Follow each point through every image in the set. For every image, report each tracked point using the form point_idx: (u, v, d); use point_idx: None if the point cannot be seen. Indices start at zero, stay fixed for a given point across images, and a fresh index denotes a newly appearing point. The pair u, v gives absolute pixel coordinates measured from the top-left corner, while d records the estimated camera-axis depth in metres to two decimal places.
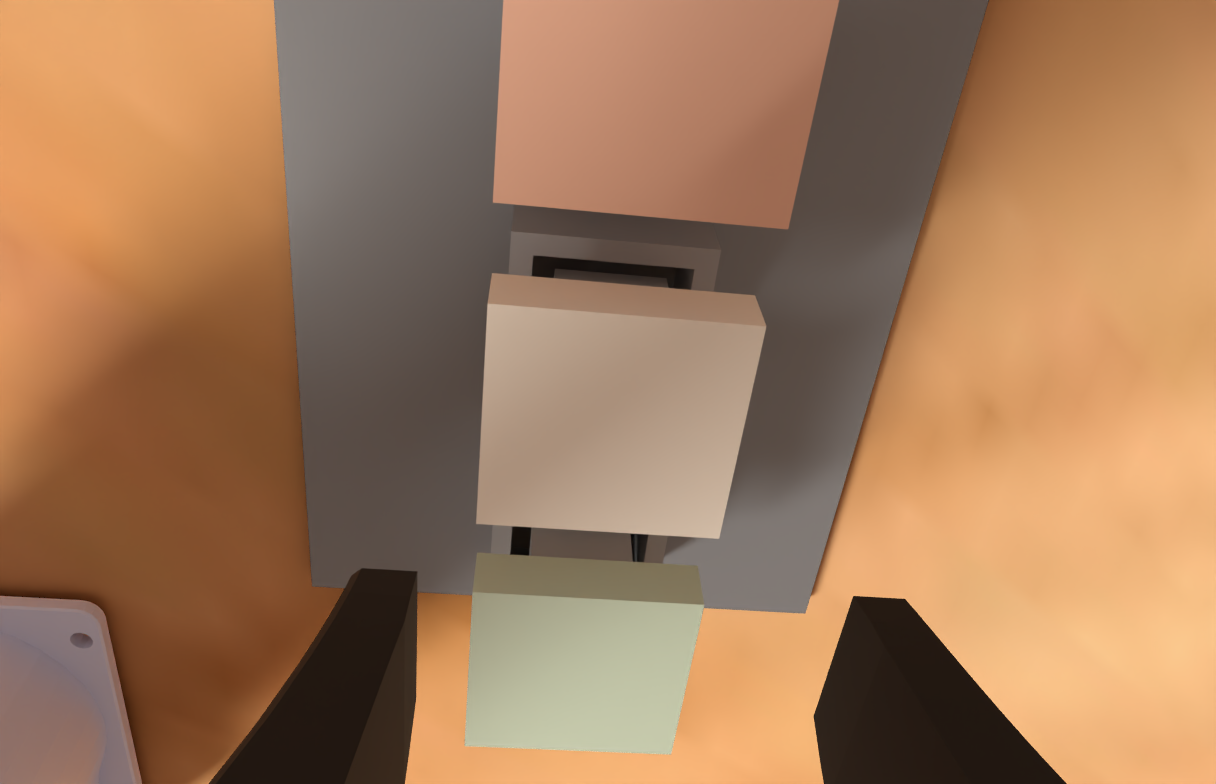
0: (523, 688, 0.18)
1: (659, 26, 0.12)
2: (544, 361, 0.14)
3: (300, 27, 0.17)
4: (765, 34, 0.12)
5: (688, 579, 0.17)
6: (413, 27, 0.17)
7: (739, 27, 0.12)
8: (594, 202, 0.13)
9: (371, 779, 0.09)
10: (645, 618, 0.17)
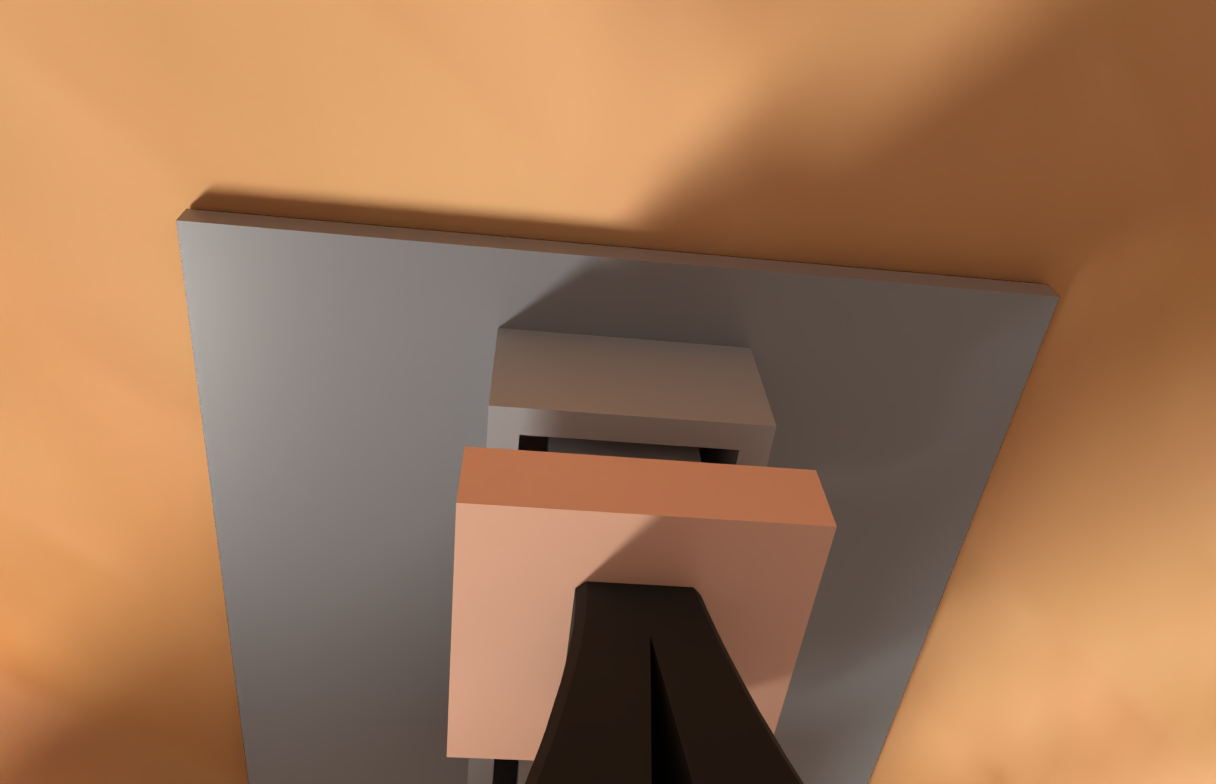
0: None
1: None
2: None
3: (237, 481, 0.15)
4: (736, 626, 0.11)
5: None
6: (363, 479, 0.15)
7: None
8: None
9: None
10: None
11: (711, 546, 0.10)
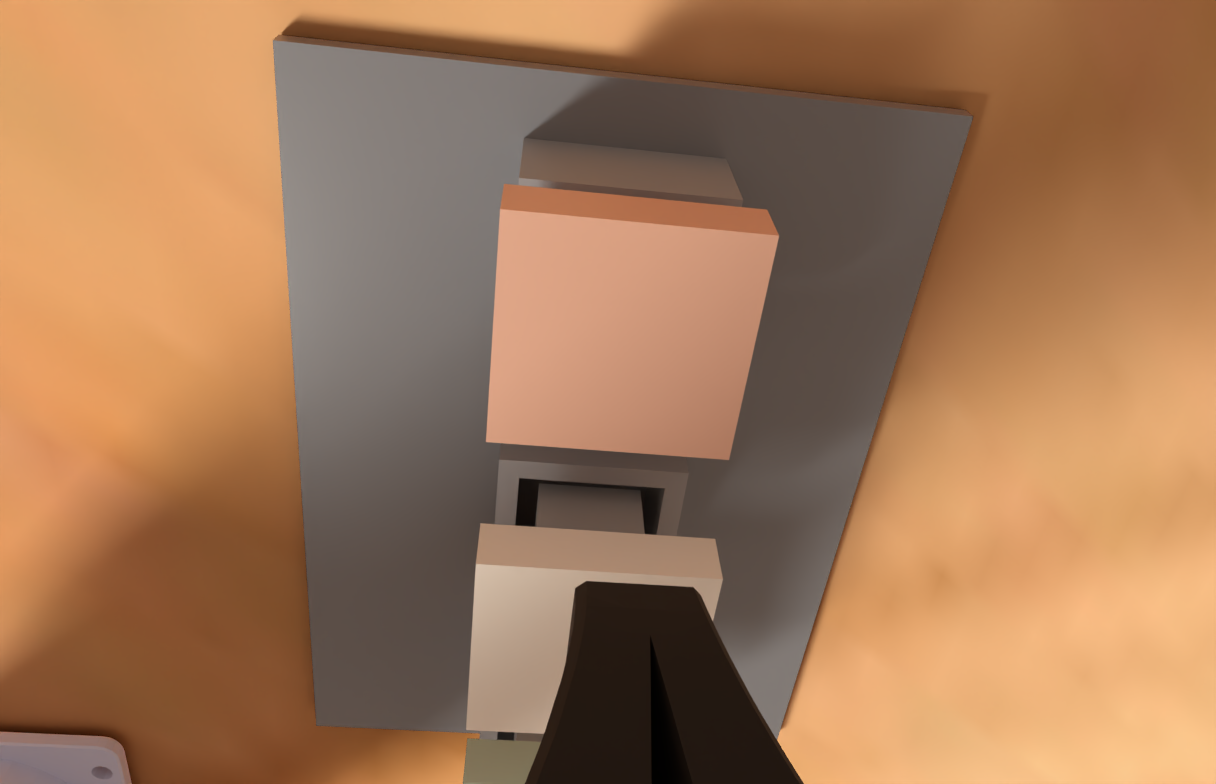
0: None
1: (619, 320, 0.15)
2: (526, 607, 0.16)
3: (310, 274, 0.18)
4: (706, 324, 0.15)
5: None
6: (412, 273, 0.18)
7: (685, 318, 0.15)
8: (569, 441, 0.16)
9: None
10: None
11: (686, 251, 0.14)
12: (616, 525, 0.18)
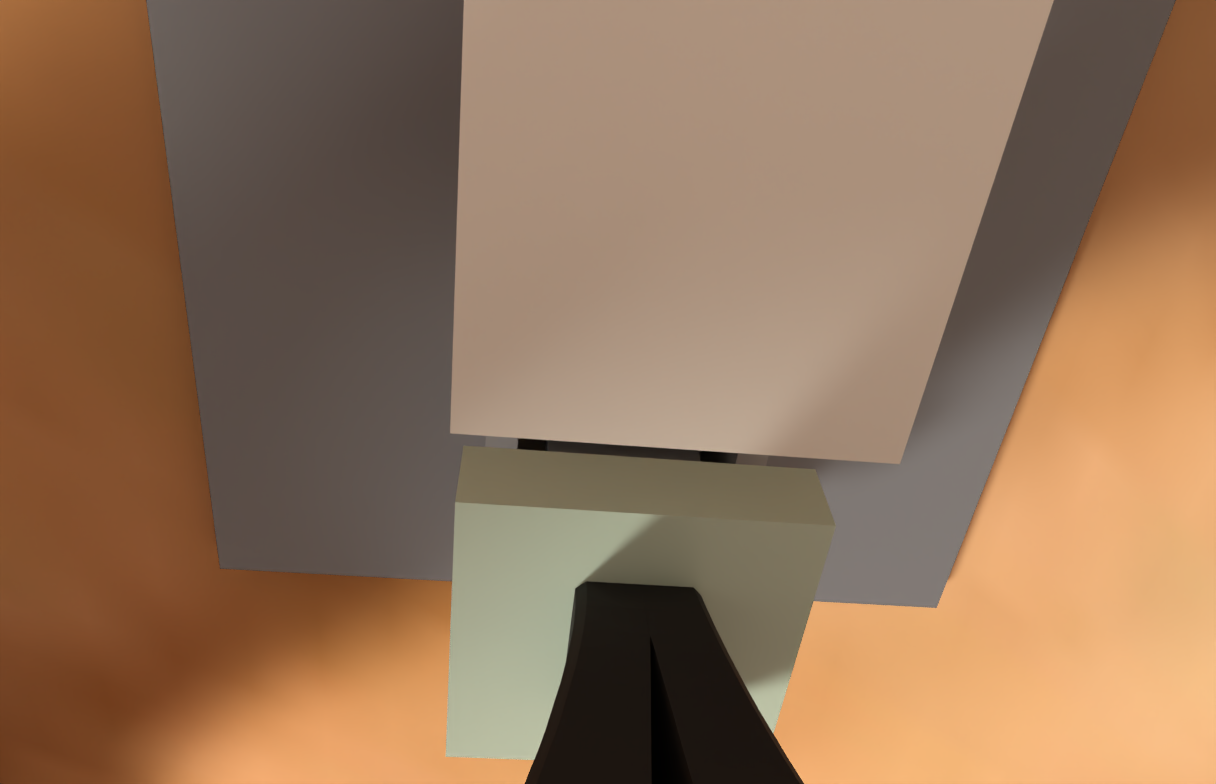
0: (537, 666, 0.11)
1: None
2: (586, 74, 0.07)
3: None
4: None
5: (804, 488, 0.11)
6: None
7: None
8: None
9: None
10: (738, 549, 0.10)
11: None
12: None
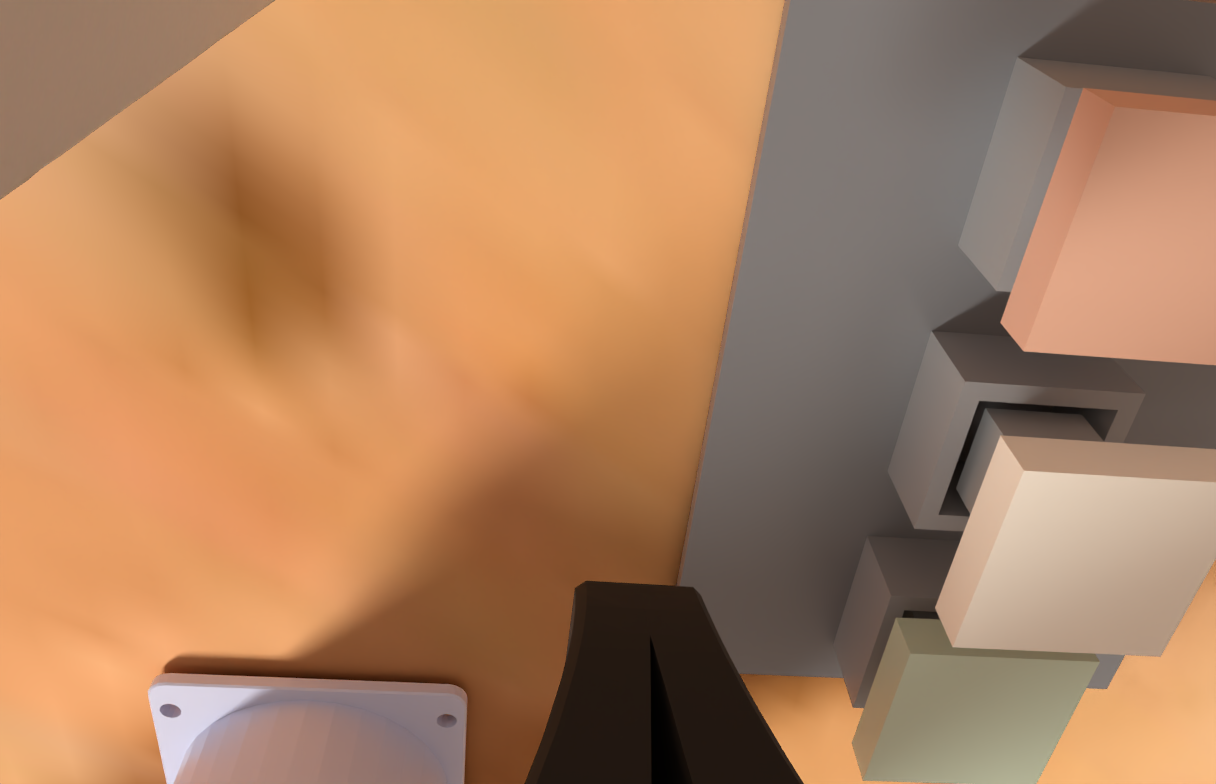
0: (927, 732, 0.21)
1: (1194, 222, 0.15)
2: (1056, 516, 0.16)
3: (774, 200, 0.18)
4: None
5: None
6: (873, 199, 0.19)
7: None
8: (1105, 350, 0.16)
9: None
10: (1047, 673, 0.20)
11: None
12: None
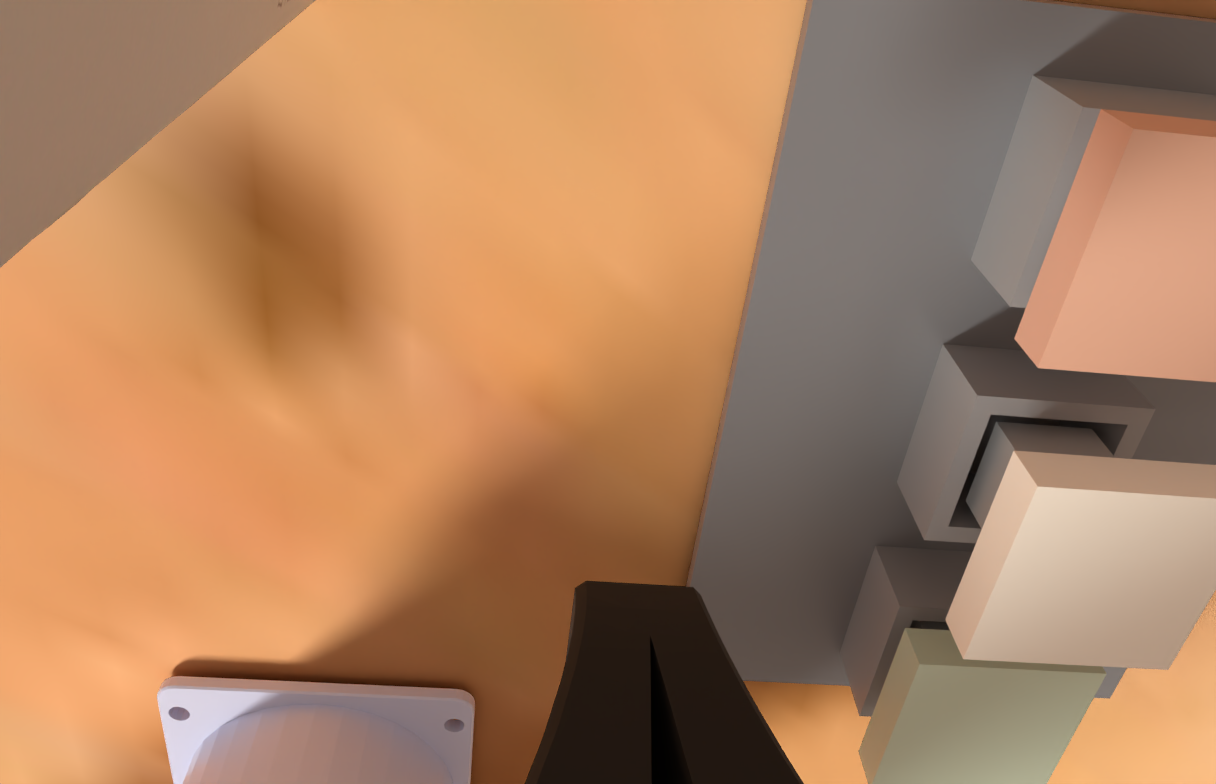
0: (935, 741, 0.21)
1: (1208, 242, 0.15)
2: (1069, 531, 0.16)
3: (789, 214, 0.19)
4: None
5: None
6: (888, 213, 0.19)
7: None
8: (1118, 367, 0.16)
9: None
10: (1054, 684, 0.20)
11: None
12: None
